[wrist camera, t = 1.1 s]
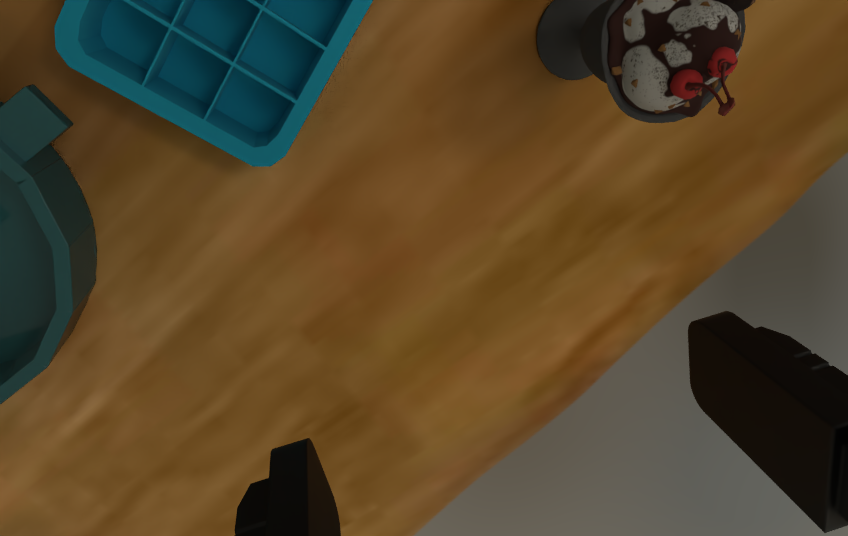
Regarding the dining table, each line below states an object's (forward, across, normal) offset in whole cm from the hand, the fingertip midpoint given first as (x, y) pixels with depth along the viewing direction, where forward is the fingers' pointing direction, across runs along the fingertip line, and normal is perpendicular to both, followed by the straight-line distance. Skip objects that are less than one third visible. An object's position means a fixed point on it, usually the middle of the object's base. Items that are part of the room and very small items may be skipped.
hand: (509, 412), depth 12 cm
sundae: (+26, -13, -3) cm, 29 cm away
